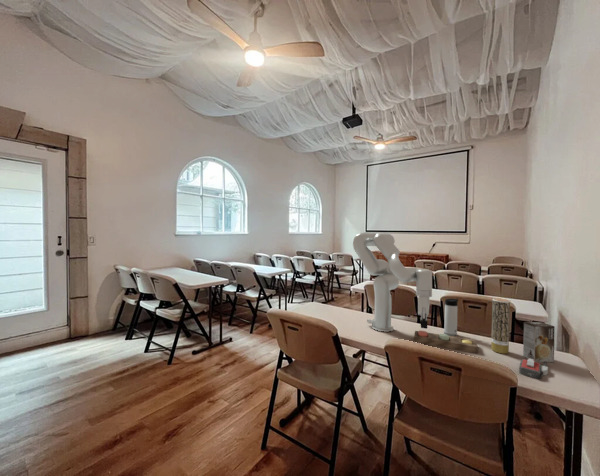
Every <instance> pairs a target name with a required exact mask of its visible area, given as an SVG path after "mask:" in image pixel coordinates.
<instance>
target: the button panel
mask: <svg viewBox="0 0 600 476" xmlns="http://www.w3.org/2000/svg"><path fill="white" fill-rule="evenodd" d="M418 331H419V330H415V331H414V335H413V342H414V341H415V342H419V343H418V344H420V343H423V344H422V345H428V346H432V347H440V348H445V349H451V350H454V351H455V350H457V351H461V350H462V351H461V352H468V353H475V354H478V353H479V347H478V343H477V341H476V339H471V338H465V337H457V336H449V341H448V340H441V339H439V334H440V333H439V334H438V333H431V332H427V337H423V336H418ZM462 340H469V341H471V342H472V344H466V343H462ZM415 342H414V343H415Z"/></svg>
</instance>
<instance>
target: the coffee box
mask: <svg viewBox="0 0 600 476" xmlns="http://www.w3.org/2000/svg"><path fill="white" fill-rule="evenodd" d="M555 330H556V329H555V325H552V324H548V323H545V322H543V321H524V322H523V346H522V347H523V350H522V353H523V354H522V356H523V357H525V358H526V359H528V358H530V359H534V360H535V362H538V363H542V362H543V363H544V361H546V362H547V363H554V362H555Z"/></svg>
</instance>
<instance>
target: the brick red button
mask: <svg viewBox="0 0 600 476" xmlns="http://www.w3.org/2000/svg"><path fill="white" fill-rule="evenodd" d="M417 331H418V336H423V337H427V333H428V331H425V330H417Z"/></svg>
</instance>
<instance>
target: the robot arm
mask: <svg viewBox="0 0 600 476" xmlns="http://www.w3.org/2000/svg"><path fill="white" fill-rule="evenodd" d="M395 242H396V240H395V237H394V236H393V235H392V234H391V233H383V232H382V233H377V232H360V233H357V234H356V235H355V236H354V237H353V240H352V246H353V251H354V252H355V254H356V256H358V258H359V259H360V261H361V262H362V264H363V266H364V268H365V269H366V271H367V273H368V274H369V275H370V276H376V277H375V278H374V281H373V290H374V315H373V316H374V319H373V318H372V319H369V318H367V319H366V323H368V324H370V325H371V328H372V330H374V329H375V330H374V331H377V330H378V331H377V332H381V331H384V332H383V333H390V332H389V331H391V332H393V331H394V330H395V327H394V326H392V295H391V291H392V290H395V289H397V288H398V287H399V285H400V282H401V283H406V284H407V283H412V282H416V283H415V285H416V290H415V291H416V292H415V293H416V296H418V298H417V315H418V316H420V328H421V329H428V316H429V313H430V298H431V297H433V272H432V270H430V269H427V268H426V269H424V268H422V269H421V268H416V267H405V266H404V264H403V263H402V262H401V260H400V258H399V255H401V254H400V253H401V252H400V249H399V248H398V247H397V246H396V245H395ZM368 247H376V248H377V249H378V250H379V251H380V253H381V254H382V255H383V256H384V258H385V259H386V260H387V261H386V260H385V259H381V258H380V259H378V258H376V256H375V254H374V253H373V251H372V249H371V250H370V248H368Z"/></svg>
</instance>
